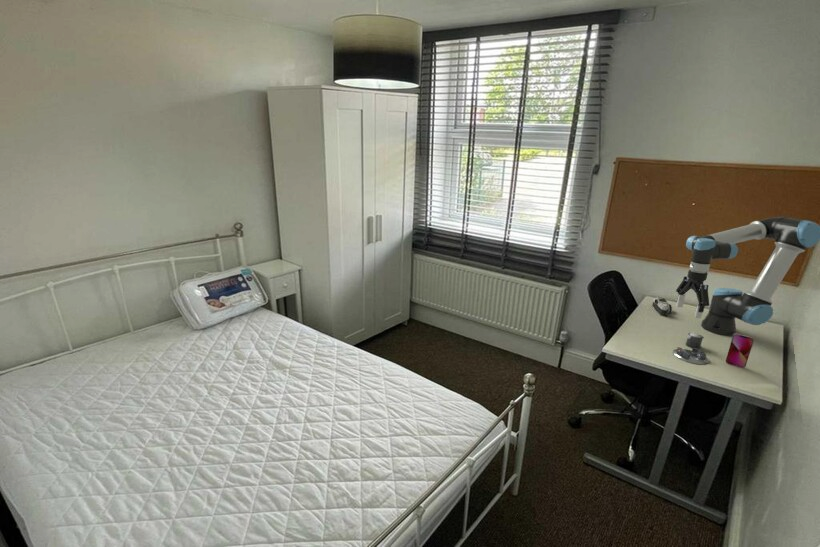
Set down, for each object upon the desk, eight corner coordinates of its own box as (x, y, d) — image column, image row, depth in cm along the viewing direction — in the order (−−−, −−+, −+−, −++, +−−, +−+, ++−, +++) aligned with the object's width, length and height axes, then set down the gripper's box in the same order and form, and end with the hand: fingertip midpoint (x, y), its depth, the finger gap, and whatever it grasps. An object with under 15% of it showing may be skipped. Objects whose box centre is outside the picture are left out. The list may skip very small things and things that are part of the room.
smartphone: (724, 362, 184) (733, 333, 180) (724, 361, 185) (733, 332, 181) (745, 368, 180) (754, 338, 175) (745, 367, 180) (754, 337, 176)
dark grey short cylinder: (695, 343, 202) (698, 332, 201) (703, 349, 197) (707, 338, 195) (681, 343, 202) (684, 332, 200) (689, 349, 196) (692, 337, 195)
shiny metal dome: (694, 350, 196) (695, 344, 195) (715, 364, 182) (717, 358, 181) (666, 349, 195) (667, 343, 194) (685, 364, 182) (687, 358, 181)
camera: (675, 320, 231) (679, 304, 228) (659, 319, 232) (662, 303, 229) (664, 310, 245) (668, 295, 242) (649, 309, 247) (652, 293, 244)
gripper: (673, 263, 201) (665, 302, 207) (709, 279, 177) (698, 322, 184) (688, 263, 201) (679, 303, 207) (726, 279, 177) (714, 322, 184)
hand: (688, 312), depth 196 cm, fingers open, 13 cm apart
